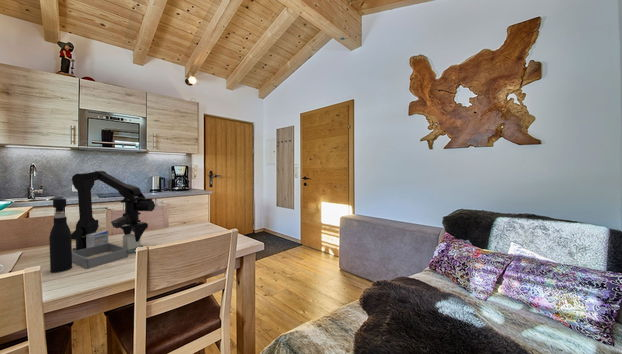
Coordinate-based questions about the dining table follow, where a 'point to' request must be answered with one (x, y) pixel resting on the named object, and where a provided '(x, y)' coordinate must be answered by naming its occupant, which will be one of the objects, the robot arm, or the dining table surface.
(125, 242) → the block
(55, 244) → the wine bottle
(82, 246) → the robot arm
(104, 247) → the grey tray
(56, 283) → the dining table surface
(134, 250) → the mat
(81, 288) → the dining table surface
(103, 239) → the medicine box
